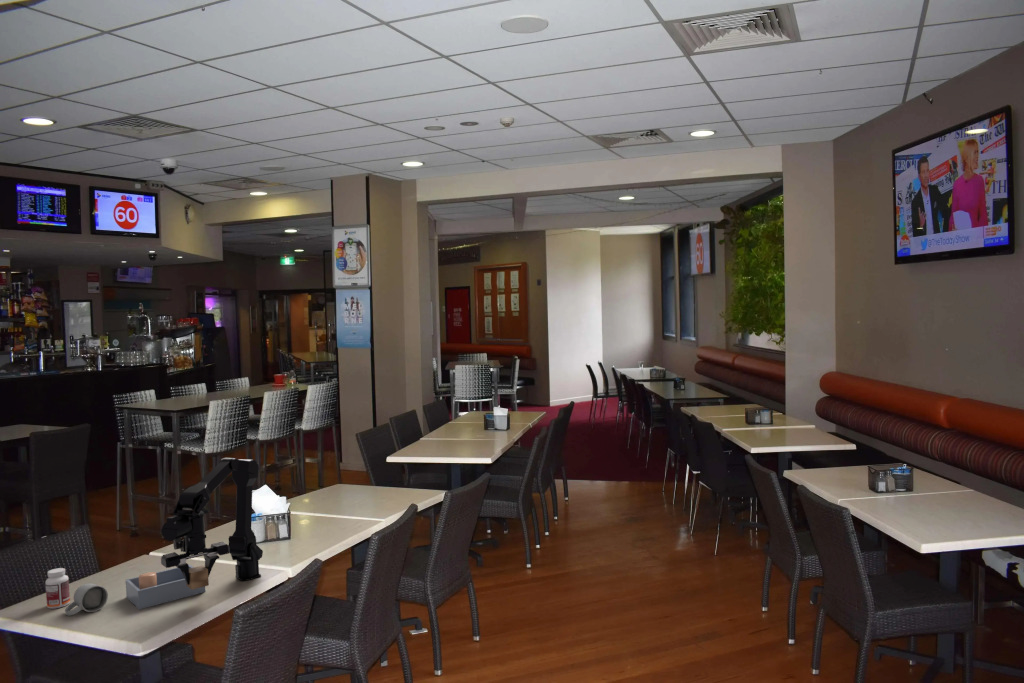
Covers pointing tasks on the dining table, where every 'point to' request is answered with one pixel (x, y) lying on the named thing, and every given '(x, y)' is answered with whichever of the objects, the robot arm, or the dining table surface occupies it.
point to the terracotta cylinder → (147, 580)
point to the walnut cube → (198, 577)
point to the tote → (160, 589)
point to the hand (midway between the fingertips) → (197, 582)
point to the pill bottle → (57, 589)
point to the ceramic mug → (88, 599)
